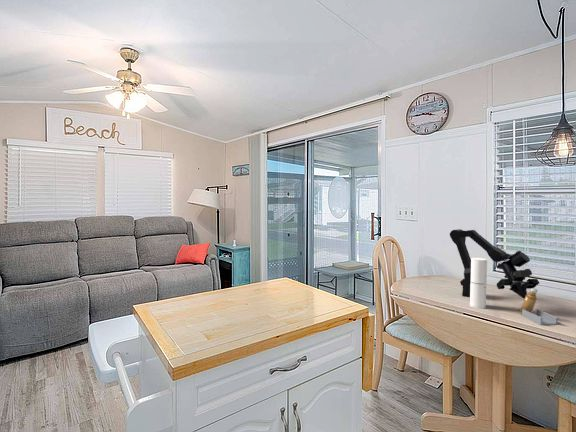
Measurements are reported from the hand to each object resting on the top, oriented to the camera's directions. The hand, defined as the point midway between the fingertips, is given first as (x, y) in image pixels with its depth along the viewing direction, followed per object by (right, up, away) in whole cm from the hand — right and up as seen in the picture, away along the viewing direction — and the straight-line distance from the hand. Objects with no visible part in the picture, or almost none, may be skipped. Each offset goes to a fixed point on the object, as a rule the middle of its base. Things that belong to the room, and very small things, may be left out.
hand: (526, 299), depth 158 cm
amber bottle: (0, -7, 0) cm, 7 cm away
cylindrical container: (-17, -7, +12) cm, 22 cm away
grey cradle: (0, -8, -8) cm, 11 cm away
